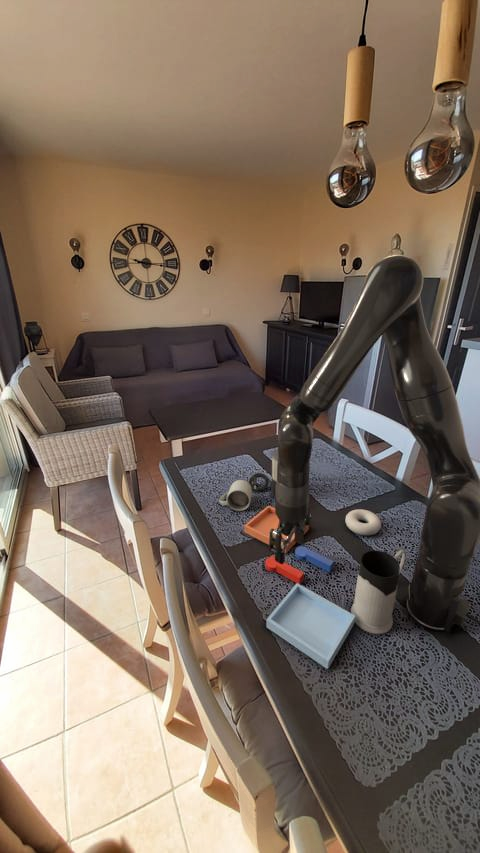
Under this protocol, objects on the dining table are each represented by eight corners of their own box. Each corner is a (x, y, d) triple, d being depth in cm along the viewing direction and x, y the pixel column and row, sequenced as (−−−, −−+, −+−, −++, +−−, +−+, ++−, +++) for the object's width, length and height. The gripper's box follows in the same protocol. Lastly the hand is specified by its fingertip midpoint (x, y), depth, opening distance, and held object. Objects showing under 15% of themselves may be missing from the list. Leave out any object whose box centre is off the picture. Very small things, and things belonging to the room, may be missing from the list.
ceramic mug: (252, 496, 122) (251, 477, 119) (250, 511, 115) (249, 491, 112) (221, 496, 123) (220, 476, 120) (217, 510, 116) (216, 490, 113)
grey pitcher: (342, 612, 80) (348, 560, 74) (380, 581, 88) (388, 532, 82) (377, 641, 74) (386, 587, 68) (414, 605, 81) (426, 554, 75)
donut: (345, 536, 103) (382, 539, 101) (346, 526, 102) (384, 529, 100) (343, 514, 112) (377, 517, 110) (344, 505, 111) (378, 508, 109)
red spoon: (305, 577, 90) (305, 570, 89) (297, 587, 87) (297, 580, 86) (271, 558, 96) (271, 552, 95) (262, 567, 93) (262, 560, 92)
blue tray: (354, 623, 78) (355, 615, 77) (327, 669, 69) (328, 661, 68) (296, 590, 86) (296, 582, 85) (266, 627, 77) (266, 619, 76)
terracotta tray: (308, 529, 106) (309, 523, 105) (285, 553, 97) (285, 546, 96) (268, 511, 114) (268, 505, 113) (244, 532, 106) (244, 525, 105)
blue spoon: (334, 565, 93) (335, 559, 92) (328, 574, 90) (328, 568, 89) (299, 548, 99) (300, 542, 98) (292, 556, 96) (292, 549, 95)
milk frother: (302, 497, 121) (303, 458, 115) (256, 505, 117) (256, 465, 112) (287, 476, 133) (287, 440, 128) (245, 483, 130) (244, 446, 124)
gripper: (289, 518, 74) (286, 577, 81) (322, 487, 84) (317, 542, 90) (259, 504, 78) (259, 561, 85) (294, 477, 88) (292, 530, 95)
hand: (289, 551), depth 88 cm, fingers open, 8 cm apart
